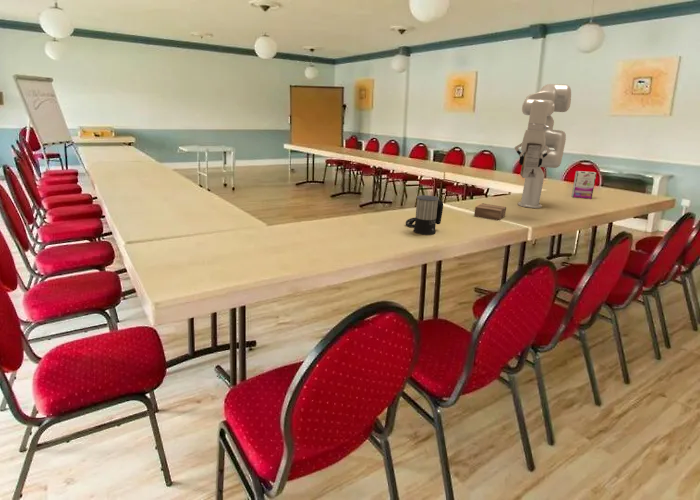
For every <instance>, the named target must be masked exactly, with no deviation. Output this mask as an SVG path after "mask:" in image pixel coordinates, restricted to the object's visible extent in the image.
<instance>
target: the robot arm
mask: <svg viewBox="0 0 700 500" xmlns="http://www.w3.org/2000/svg"><path fill="white" fill-rule="evenodd" d="M571 101H572V89H571V87H570V85H568V84H564V83H563V84H562V83H559V84H558V83H547V84H545V85H543V86H542V87H541V89H540V90H539V91H538V92H535V93H532V94H529V95H527V96H526V97H525V98H524V101H523V103H522V107H521V112H522V114H523V115H525V116H529V117H528V123H527V124H528V125H527V129H525V131H524V135H523V138H522V142H521V143H519V144H518V145H516V146H515V147H514V150H515V151H516V153H517V155H518V156H519V162H518V164H519V166H522V164H523V155H524V153H525V151H526V147H527V143H534V144H542V147H541V153H540V158H539V164H538V169H537V175H536V179H531V178H524V183H523V189H522V194H521V195H522V196H521V201H518V202H517V205H518V206H520V207H523V208H528V209H541V208H542V207H543V205H542V204H541V202H540V200H541V196H542V190H543V184H544V178H545V173H544V171H543V169H542V168H550V169H558V168H559V167H560V166H561V164H562V160H563V155H564V150H565V145H566V140H567V135H566V133H565V131H563V130H560V129H553V128H554V124H555V119H554V118H553V116H552V115H553V113H554V112H555V113H566V112H568V111H569V110H570V107H571ZM519 148H520V149H521V150H520V149H519Z"/></svg>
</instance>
